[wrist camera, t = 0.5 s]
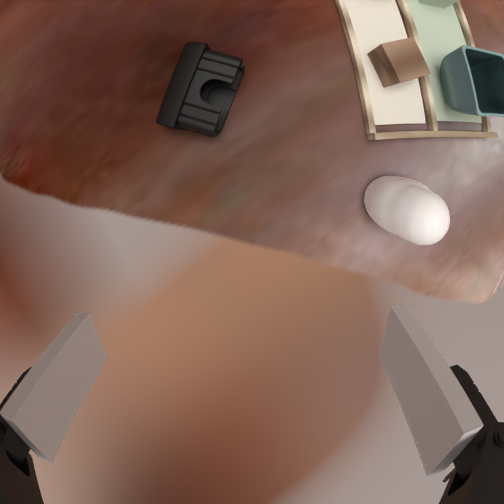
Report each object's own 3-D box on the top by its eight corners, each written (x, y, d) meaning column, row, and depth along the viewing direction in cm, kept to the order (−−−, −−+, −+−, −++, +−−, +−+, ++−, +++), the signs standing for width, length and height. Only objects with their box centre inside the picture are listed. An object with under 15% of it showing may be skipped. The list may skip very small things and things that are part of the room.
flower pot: (468, 62, 26) (505, 54, 18) (479, 116, 29) (519, 118, 21) (425, 57, 27) (461, 44, 19) (438, 116, 30) (478, 116, 22)
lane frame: (311, -59, 21) (314, -69, 18) (435, -39, 19) (442, -46, 16) (367, 139, 33) (375, 139, 30) (485, 136, 31) (497, 138, 28)
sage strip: (397, -15, 23) (431, -45, 13) (447, -3, 22) (485, -24, 12) (434, 120, 31) (483, 121, 21) (480, 122, 30) (529, 126, 20)
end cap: (193, 53, 30) (179, 37, 23) (246, 67, 30) (243, 52, 24) (166, 124, 33) (147, 121, 27) (218, 139, 34) (209, 139, 28)
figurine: (405, 226, 37) (450, 260, 26) (357, 221, 37) (393, 256, 26) (413, 177, 34) (464, 196, 23) (364, 168, 35) (407, 183, 23)
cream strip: (336, -19, 24) (358, -59, 14) (387, -14, 24) (419, -47, 13) (373, 125, 32) (414, 122, 22) (423, 123, 32) (473, 124, 21)
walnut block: (366, 53, 28) (381, 43, 24) (396, 46, 27) (413, 37, 23) (383, 87, 30) (400, 82, 25) (412, 79, 29) (431, 73, 24)
